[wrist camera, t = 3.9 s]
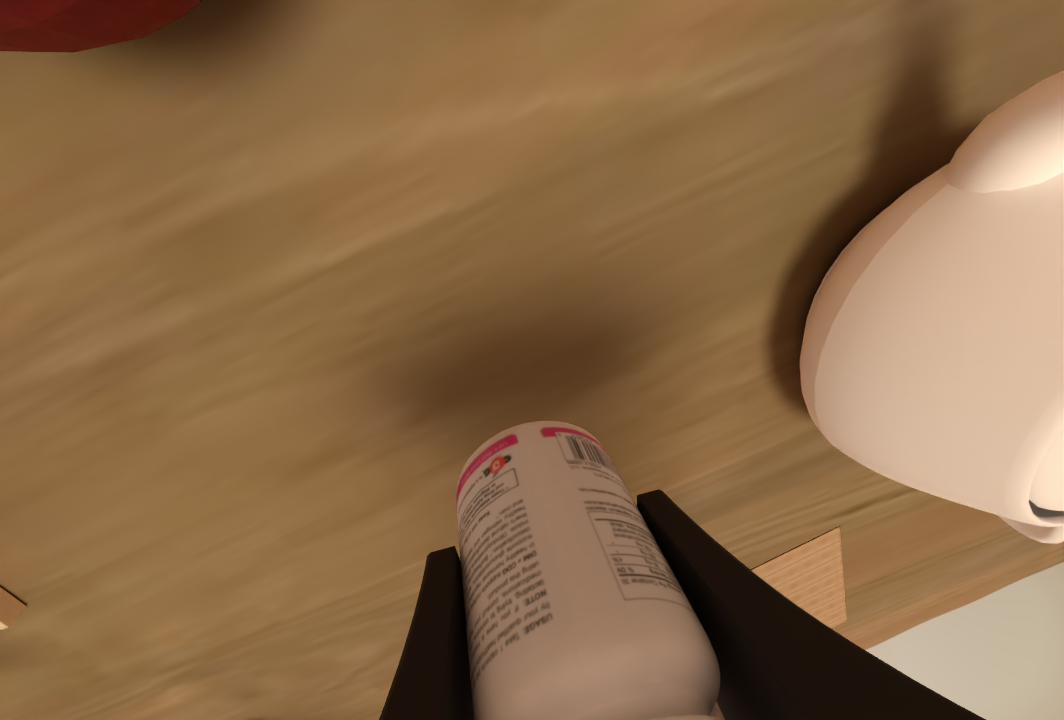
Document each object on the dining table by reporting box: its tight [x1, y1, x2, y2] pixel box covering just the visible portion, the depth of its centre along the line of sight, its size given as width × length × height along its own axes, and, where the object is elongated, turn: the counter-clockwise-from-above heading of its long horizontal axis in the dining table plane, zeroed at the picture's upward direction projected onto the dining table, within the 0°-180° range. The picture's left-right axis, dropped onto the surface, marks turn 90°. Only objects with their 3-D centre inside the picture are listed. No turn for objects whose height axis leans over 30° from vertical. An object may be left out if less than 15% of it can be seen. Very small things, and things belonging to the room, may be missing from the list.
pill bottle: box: [456, 421, 721, 720], centre depth 9 cm, size 5×5×8 cm
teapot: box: [800, 71, 1064, 543], centre depth 16 cm, size 25×16×12 cm, turn 28°
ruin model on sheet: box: [710, 527, 847, 720], centre depth 32 cm, size 25×16×10 cm, turn 115°
